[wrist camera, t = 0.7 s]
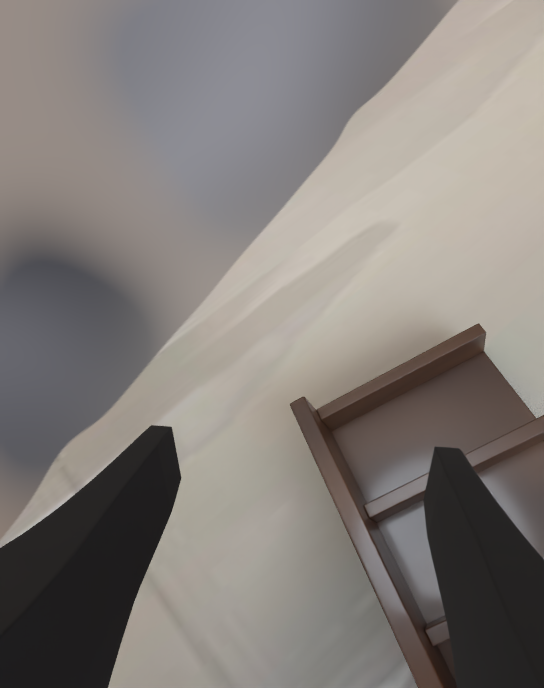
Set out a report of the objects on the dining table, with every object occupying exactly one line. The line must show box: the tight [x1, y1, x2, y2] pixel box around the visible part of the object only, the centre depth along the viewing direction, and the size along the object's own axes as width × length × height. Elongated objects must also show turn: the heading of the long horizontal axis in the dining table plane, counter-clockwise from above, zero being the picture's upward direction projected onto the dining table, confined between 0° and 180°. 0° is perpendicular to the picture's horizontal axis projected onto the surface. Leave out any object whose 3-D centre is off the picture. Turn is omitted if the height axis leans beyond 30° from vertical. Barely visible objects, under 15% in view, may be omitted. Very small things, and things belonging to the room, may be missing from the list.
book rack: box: [290, 324, 544, 688], centre depth 21 cm, size 18×11×6 cm, turn 22°
